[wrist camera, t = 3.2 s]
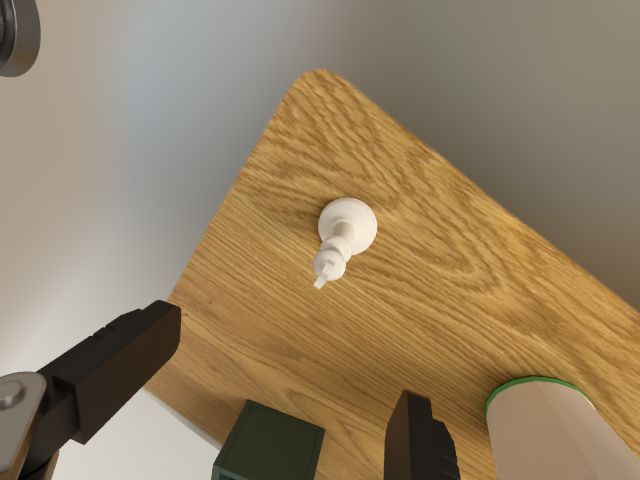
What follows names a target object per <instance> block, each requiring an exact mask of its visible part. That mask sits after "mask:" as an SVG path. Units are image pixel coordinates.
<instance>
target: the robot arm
mask: <svg viewBox="0 0 640 480" xmlns="http://www.w3.org/2000/svg"><path fill="white" fill-rule="evenodd" d="M3 35H4V15H3V9H2V4H1V1H0V46H1V43H2V40H3ZM180 330H181V308H180V307H179V306H176V305H173V304H170V303H168V302H165V301H162V300H157V301H155V302H153V303H152V304H150V305H149V306H148V307H146V308H145V309H143V310H141V309H136V310H134V311H131V312H129V313H126V314H123V315H120V316H119V317H118V318H116V319H115V320H113V321H112V322H110V323H109V324H107V325H106V327H105V328H104V327H103V328H101V329H100V330H98V331H97V332H95V333H94V334H93V336H89V337H88V338H86V339H85V340H83V341H82V342H80V343H79V344H77V345H76V346H74V347H73V348H71V349H70V350H68V351H67V352H65V353H64V354H62V355H61V356H59V357H58V358H56V359H55V360H53V361H52V362H50V363H49V364H47V365H46V366H44V367H43V368H41V369H40V370H38V371H36V372H17V373H12V374H8V375H5V376H2V377H0V480H51V478H52V475H53V472H54V469H55V466H56V463H57V460H58V456H59V449H60V448H61V447H62V446H63V445H64V444H65V443H66V442H67V441H68V440H69V439H72V440H74V441H76V442H79V443H81V444H83V445H85V444H86V443H87V442H88V441H89V440H90V439H91V438H92V437H93V436H94V435H95V434H96V433H97V432H98V431H99V430H100V429H101V428H102V427H103V426H104V424H106V422H108V421H109V420H110V419H111V417H113V416H114V415H115V414H116V412H118V411H119V409H120V408H121V407H122V406H123V405H124V404H125V403H126V402H127V401H128V400H129V399H130V398H131V397H132V396H133V395H134V394H135V393H136V392H137V391H138V390H139V389H140V388H141V387H142V386H143V385H144V384H145V383H146V382H147V381H148V380H149V379H150V378H151V377H152V376H153V375H154V374H155V373H156V372H157V371H158V370H159V369H160V368H161V367H162V366H163V365H164V364H165V363H166V362H167V361H168V360H169V359H170V358H171V357H172V356H173V355H174V353H175V352H176V350H177V348H178V345H179V342H180ZM460 479H461V478H460V473H459V467H458V466H457V457H456V451H455V446H454V441H453V440H452V438H451V436H450V434H449V432H448V430H447V428H446V426H445V424H444V423H443V422H441V421H438V420H435V419H433V416H432V409H431V402H430V399H429V398H428V397H426V396H423V395H420V394H417V393H414V392H412V391H409V390H406V389H404V390H403V392H402V394H401V396H400V398H399V400H398V402H397V405H396V407H395V409H394V411H393V413H392V415H391V418H390V420H389V422H388V426H387V430H386V436H385V453H384V480H460Z"/></svg>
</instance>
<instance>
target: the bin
mask: <svg viewBox="0 0 640 480" xmlns="http://www.w3.org/2000/svg"><path fill="white" fill-rule="evenodd" d="M324 433H325V429H322V428H319V427H317V426H314V425H312V424H309V423H307V422H304V421H302V420H299V419H296V418H294V417H291V416H289V415H286V414H284V413H281V412H278V411H276V410H273V409H271V408H268V407H266V406H263V405H261V404H258V403H255V402H253V401H250V400H248V401H247V403H246V405H245V406H244V408H243V410H242V412H241V414H240V416H239V418H238V419H237V421H236V423H235V425H234V427H233V429H232V430H231V432H230V434H229V436H228V438H227V440H226V442H225V443H224V445H223V447H222V449H221V451H220V453H219V455H218V456H217V458H216V460H215V462H214V464H213V469H212V477H211V480H314V476H315V472H316V468H317V463H318V459H319V455H320V450H321V446H322V441H323V437H324Z"/></svg>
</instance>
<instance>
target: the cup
mask: <svg viewBox="0 0 640 480" xmlns="http://www.w3.org/2000/svg"><path fill="white" fill-rule="evenodd" d="M485 416H486V420H487V425H488V431H489V436H490V441H491V447H492V452H493V457H494V463H495V468H496V474H497V479H498V480H640V459H639V458H638V457H637V456H636V455H635V454H634V453H633V452H632V450H631V449H630V448H629V447H628V446H627V445H626V444H625V443H624V441H623V440H622V439H621V438H620V437H619V436H618V435H617V434H616V433H615V431H614V430H613V429H612V428H611V427H610V426H609V425H608V424H607V422H606V421H605V420H604V419H603V418H602V417H601V416H600V415H599V413H598V412H597V411H596V409H595V408H594V406H593V405H592V403H591V402H590V401H589V399H588V398H587V397H586V396H585V395H584V394H583V393H582V392H581V391H580V390H579V389H577V388H576V387H575V386H573V385H571V384H568V383H566V382H563V381H560V380H557V379H554V378H546V377H535V376H531V377H526V378H520V379H516V380H512V381H510V382H508V383H506V384H504V385H502V386H500V387H498V388H497V389H495V391H494V392H493V393H492V394H491V396H490V397H489V399H488V400H487V404H486V409H485Z"/></svg>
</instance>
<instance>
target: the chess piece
mask: <svg viewBox="0 0 640 480" xmlns="http://www.w3.org/2000/svg"><path fill="white" fill-rule="evenodd" d="M318 231H319V235H320V238H321V240H322V241H323V242H322V244H321V247H320V251H319V252H318V253H317V254H316V255H315V256H314V258H313V262H312V266H313V270H314V272H315V273H316V274H317V275H318V278H317V280H316V281H315V283H314V286H315V287H317V288H319V289H320V288H321V287H322V286H323V285H324V283H325V282H326V280H328V281H332V280H336V279H338V278H340V277H341V276H342V275H343V273H344V271H345V267H346V265H345V263H346V262H347V261H348V260H349V259H350V257H351V255H355V254H358V253H361V252H363V251H364V250H366V249H367V248H368V247H369V246H370V244H371V243H372V242H373V240H374V238H375V236H376V232H377V221H376V217H375V215H374V213H373V211H372V210H371V209H370V208H369V206H367V205H366V204H365V203H364V202H362V201H360V200H358V199H355V198H339V199H336V200H334V201H332V202H330V203H329V204H328V205H327V206H326V207H325V208H324V209H323V211H322V213H321V215H320V218H319V222H318Z"/></svg>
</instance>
